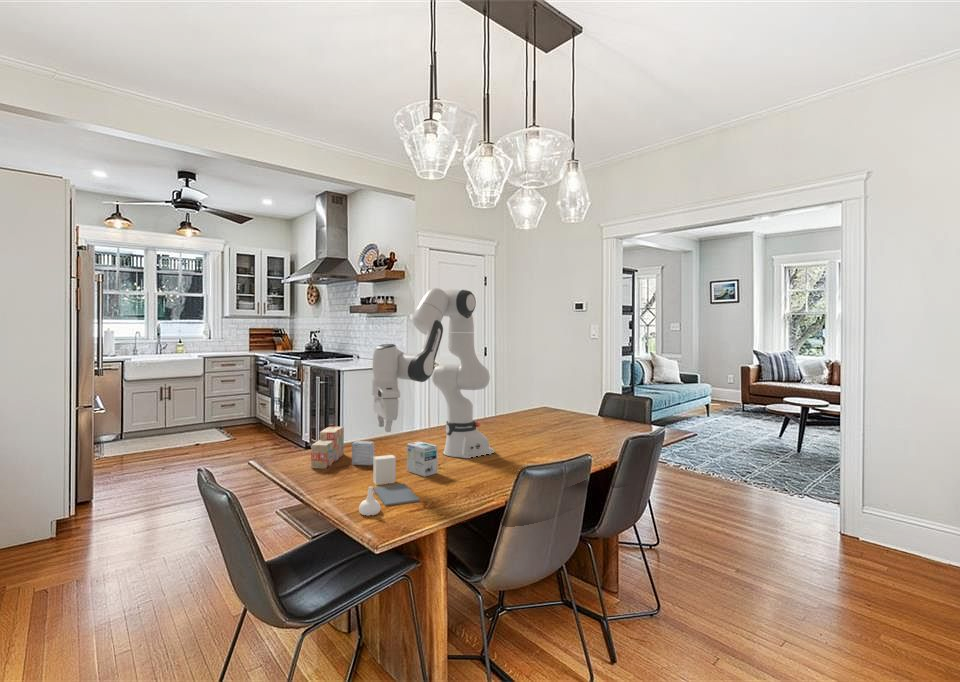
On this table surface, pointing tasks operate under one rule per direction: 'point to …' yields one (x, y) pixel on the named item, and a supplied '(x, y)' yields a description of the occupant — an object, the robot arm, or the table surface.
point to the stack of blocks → (327, 447)
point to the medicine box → (362, 453)
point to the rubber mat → (395, 494)
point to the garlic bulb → (369, 504)
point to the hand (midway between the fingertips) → (384, 429)
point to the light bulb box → (422, 458)
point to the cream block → (384, 469)
